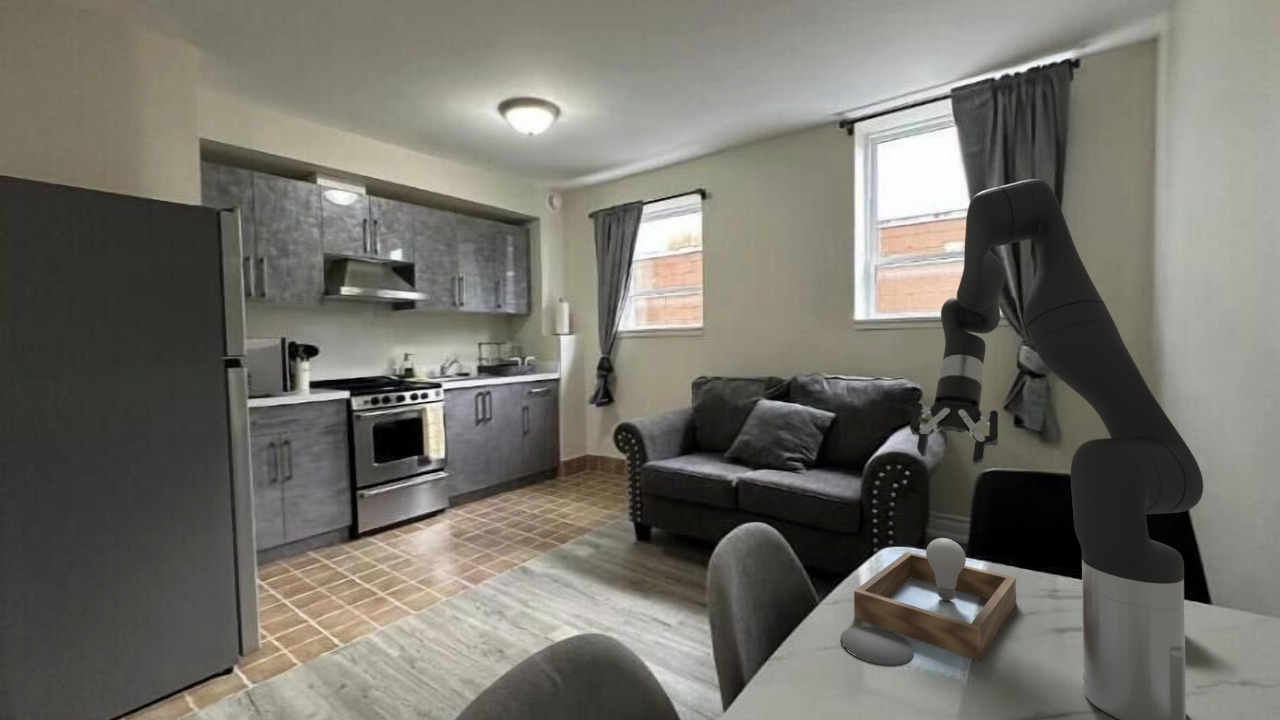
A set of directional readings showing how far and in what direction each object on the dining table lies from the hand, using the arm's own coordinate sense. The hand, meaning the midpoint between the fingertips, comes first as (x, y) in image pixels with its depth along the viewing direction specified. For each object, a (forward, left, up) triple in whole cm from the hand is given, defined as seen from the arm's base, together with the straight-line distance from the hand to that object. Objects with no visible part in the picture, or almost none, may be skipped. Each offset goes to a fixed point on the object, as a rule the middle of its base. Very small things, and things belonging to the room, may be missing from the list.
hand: (948, 459), depth 98 cm
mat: (+2, +28, -24) cm, 37 cm away
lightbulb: (-1, +5, -25) cm, 25 cm away
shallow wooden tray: (-1, +10, -24) cm, 26 cm away
